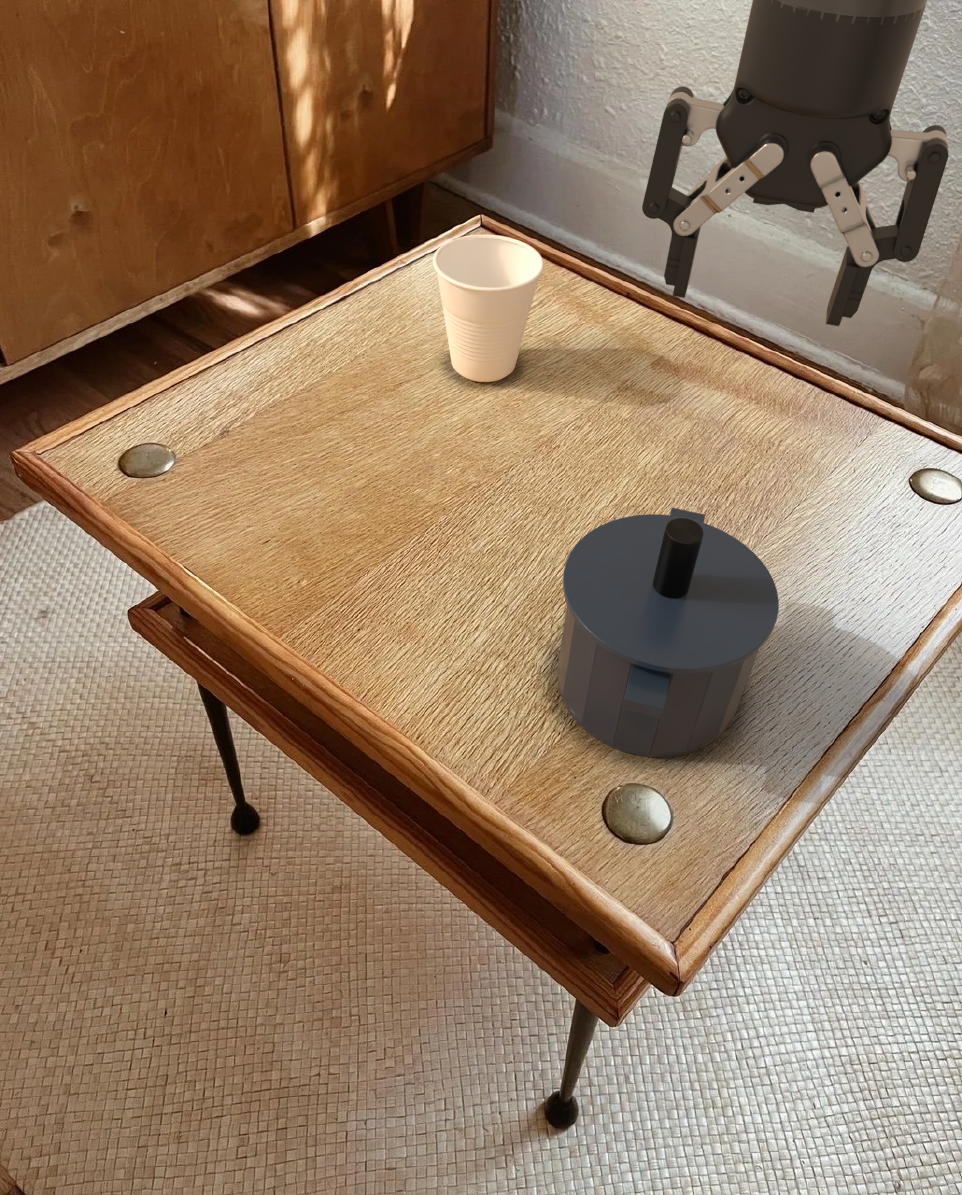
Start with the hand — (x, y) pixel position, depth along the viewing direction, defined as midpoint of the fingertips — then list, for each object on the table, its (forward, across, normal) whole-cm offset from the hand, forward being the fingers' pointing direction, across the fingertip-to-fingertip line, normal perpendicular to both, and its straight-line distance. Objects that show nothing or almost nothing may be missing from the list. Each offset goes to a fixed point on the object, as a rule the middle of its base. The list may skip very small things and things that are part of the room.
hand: (756, 304), depth 58 cm
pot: (+27, -1, -7) cm, 27 cm away
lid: (+17, -1, -7) cm, 18 cm away
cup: (+27, -22, +28) cm, 45 cm away
